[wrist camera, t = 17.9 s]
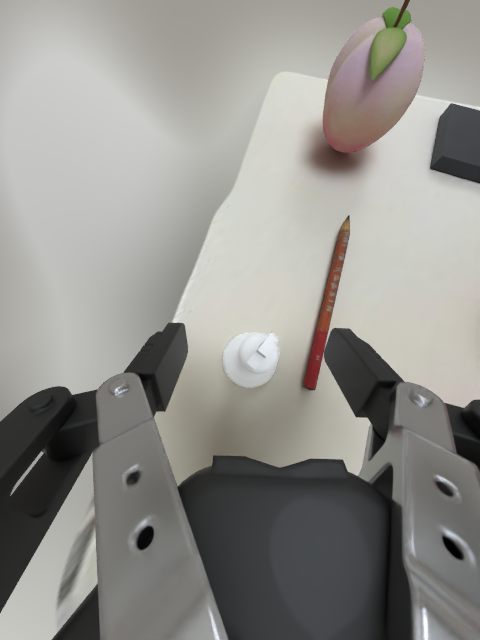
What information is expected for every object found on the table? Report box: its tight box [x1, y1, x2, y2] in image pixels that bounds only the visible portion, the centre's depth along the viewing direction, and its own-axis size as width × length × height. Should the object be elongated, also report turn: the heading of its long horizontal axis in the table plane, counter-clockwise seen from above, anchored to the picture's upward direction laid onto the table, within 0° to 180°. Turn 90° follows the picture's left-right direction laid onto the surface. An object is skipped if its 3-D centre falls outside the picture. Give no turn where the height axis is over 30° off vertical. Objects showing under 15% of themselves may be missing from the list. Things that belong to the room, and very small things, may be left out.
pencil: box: [304, 215, 350, 390], centre depth 18 cm, size 19×1×1 cm, turn 161°
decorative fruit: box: [323, 0, 425, 153], centre depth 19 cm, size 9×8×10 cm
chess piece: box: [222, 332, 280, 388], centre depth 12 cm, size 5×5×10 cm
